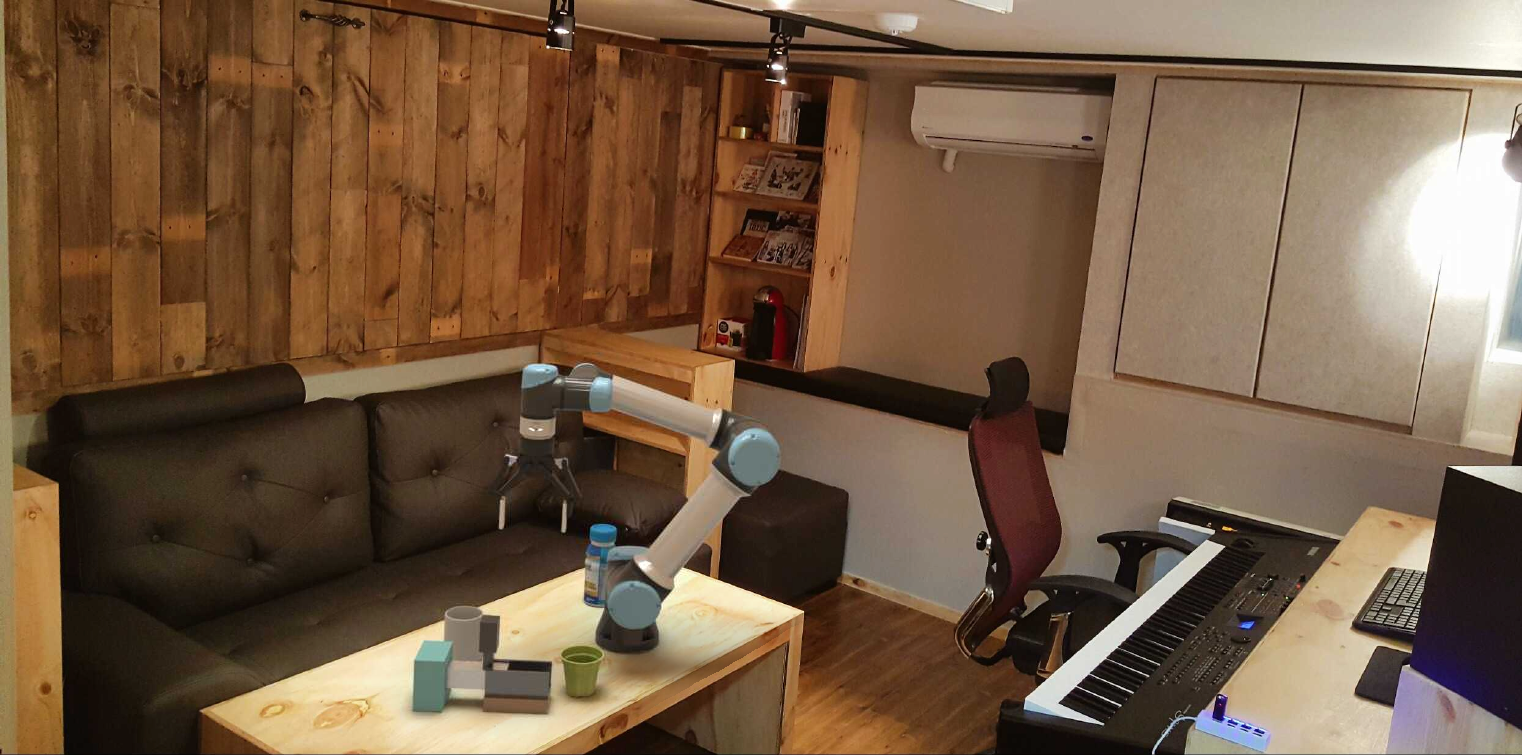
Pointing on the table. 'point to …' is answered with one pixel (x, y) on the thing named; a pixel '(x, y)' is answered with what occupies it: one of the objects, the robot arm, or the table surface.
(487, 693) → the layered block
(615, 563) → the robot arm
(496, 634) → the grey sliding latch bolt
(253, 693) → the table surface
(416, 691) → the socket block
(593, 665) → the plant pot
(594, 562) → the beverage bottle
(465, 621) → the mug
